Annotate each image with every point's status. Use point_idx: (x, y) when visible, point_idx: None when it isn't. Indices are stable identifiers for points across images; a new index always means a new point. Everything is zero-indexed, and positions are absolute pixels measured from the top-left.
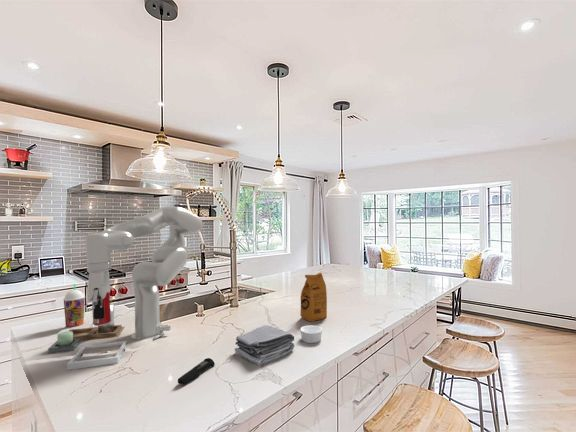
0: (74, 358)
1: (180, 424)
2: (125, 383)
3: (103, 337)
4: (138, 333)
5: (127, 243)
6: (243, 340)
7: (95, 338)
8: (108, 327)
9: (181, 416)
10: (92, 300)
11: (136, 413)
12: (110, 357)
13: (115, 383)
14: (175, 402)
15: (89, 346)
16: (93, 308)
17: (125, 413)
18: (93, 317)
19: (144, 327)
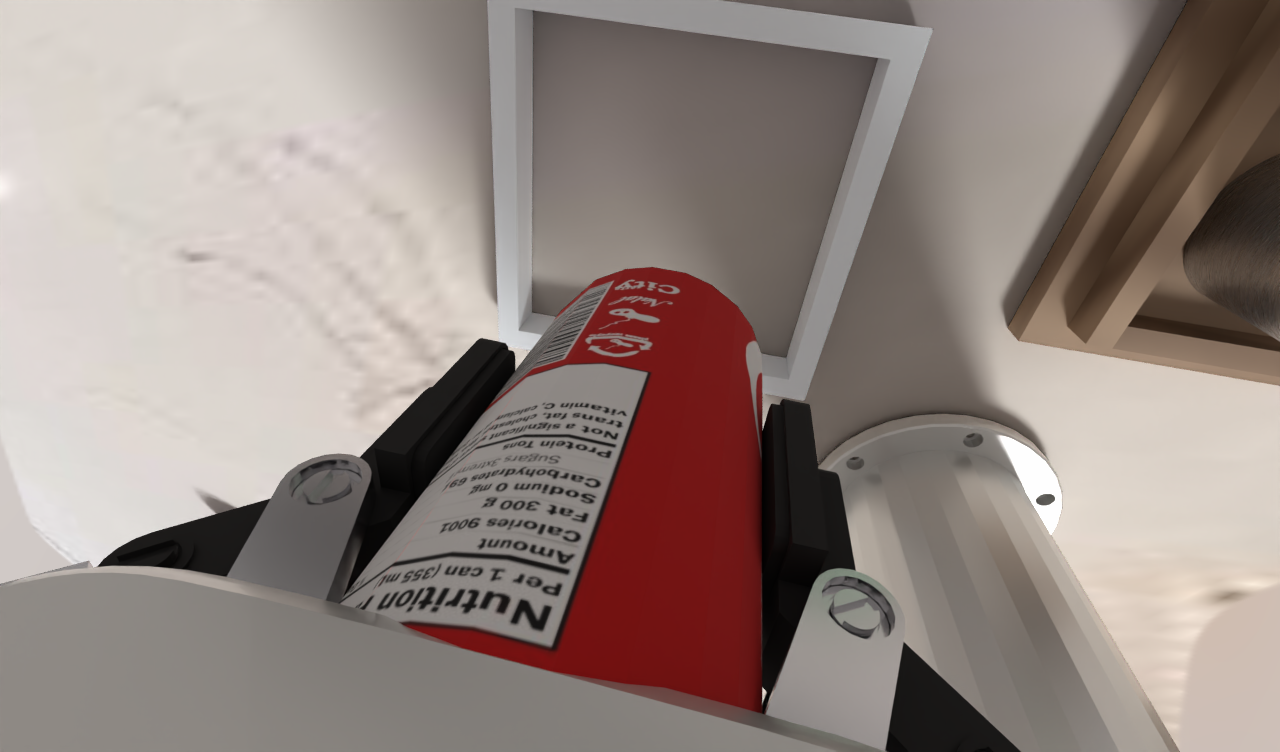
0: (589, 12)
1: (26, 478)
2: (263, 358)
3: (1133, 212)
4: (883, 487)
5: None
6: None
7: (1179, 128)
8: (1245, 289)
9: (63, 487)
10: (402, 571)
11: (51, 384)
12: (512, 303)
13: (265, 317)
14: (132, 488)
15: (875, 108)
16: (379, 446)
17: (43, 352)
18: (564, 325)
19: (855, 556)
